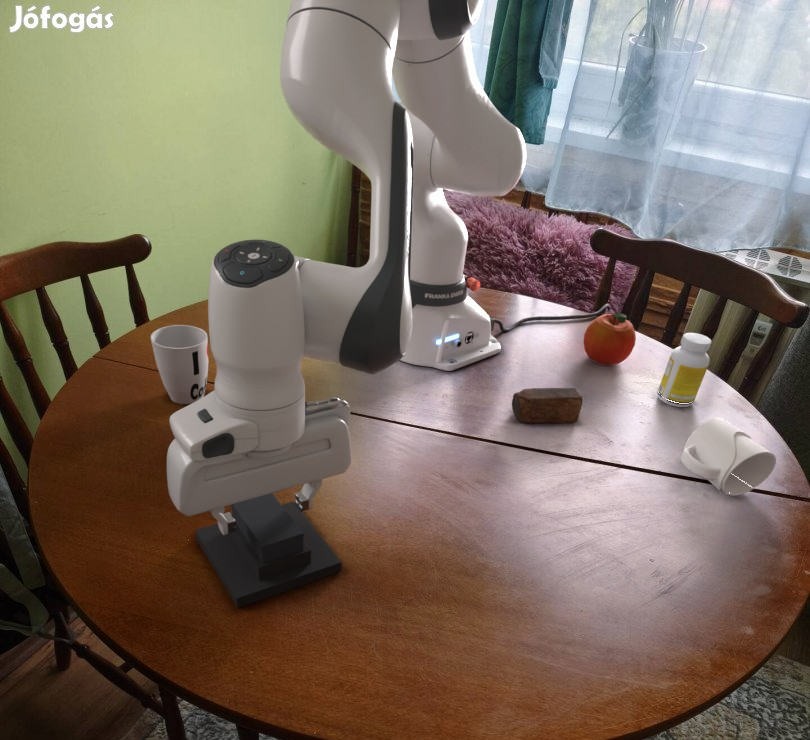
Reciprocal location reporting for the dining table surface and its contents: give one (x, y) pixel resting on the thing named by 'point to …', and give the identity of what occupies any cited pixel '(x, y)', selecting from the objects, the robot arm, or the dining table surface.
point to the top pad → (268, 527)
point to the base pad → (251, 589)
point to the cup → (182, 361)
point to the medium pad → (272, 566)
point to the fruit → (609, 339)
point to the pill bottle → (685, 370)
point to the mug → (727, 457)
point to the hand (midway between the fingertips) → (266, 518)
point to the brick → (547, 405)
